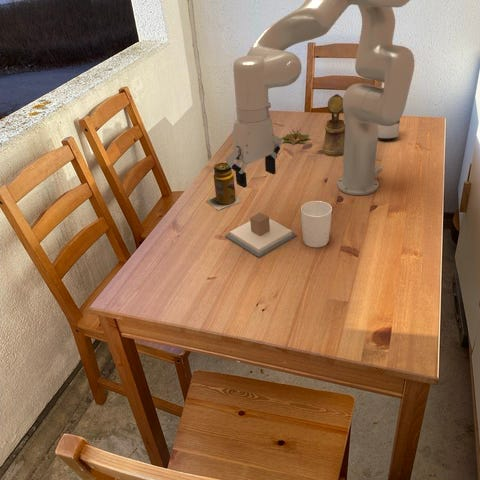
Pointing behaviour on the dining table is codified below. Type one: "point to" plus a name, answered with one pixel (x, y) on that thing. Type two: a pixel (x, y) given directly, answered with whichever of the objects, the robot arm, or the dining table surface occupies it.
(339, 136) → the brass finial ornament
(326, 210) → the white cup
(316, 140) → the dining table surface
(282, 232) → the lid
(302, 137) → the green leafy plant
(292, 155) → the dining table surface
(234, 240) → the grey flat square slab
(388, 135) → the spread jar
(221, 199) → the condiment
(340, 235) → the dining table surface
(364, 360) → the dining table surface
